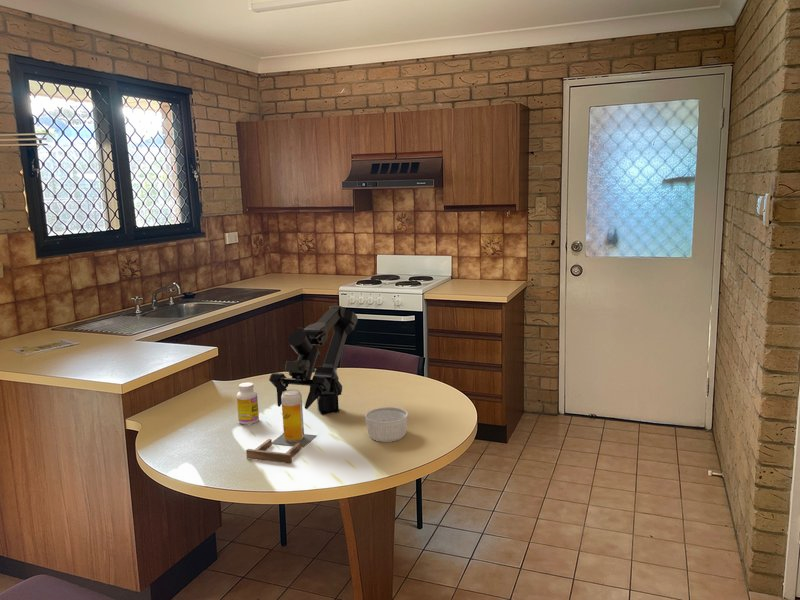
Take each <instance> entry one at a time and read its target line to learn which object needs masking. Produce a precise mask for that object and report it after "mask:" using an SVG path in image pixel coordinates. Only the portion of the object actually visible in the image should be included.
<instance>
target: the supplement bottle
mask: <svg viewBox="0 0 800 600" xmlns="http://www.w3.org/2000/svg"><path fill="white" fill-rule="evenodd" d="M254 387H255V385H254V383H253V382H242V383H240V384H238V390H239V391H238V392H237V393H236V406H237V407H236V408H237V418H238V419H237V421H238V422H239V424H241V425H252V424H253V425H254V424H255V423H257V422H259V420H260V415H259V403H258V402H259V401H258V392H257V391H256V390H254Z"/></svg>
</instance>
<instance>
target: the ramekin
mask: <svg viewBox="0 0 800 600" xmlns="http://www.w3.org/2000/svg"><path fill="white" fill-rule="evenodd" d="M408 419H409V413H408V411H407V410H405V409H403V408H401V407H395V406H384V407H383V406H381V407H377V408H373V409H370V410H368V411H367V412H366V413H365V415H364V421H365V423H366V424H365V425H366V430H367V434H368V436H369V438H371V440H373V441H375V440H376V442H379V441H381V443H392V441H393V442H397V441H399V440H401V439H403V438H404V436H405V435H406V434H407V426H408Z"/></svg>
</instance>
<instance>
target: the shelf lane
mask: <svg viewBox="0 0 800 600" xmlns="http://www.w3.org/2000/svg"><path fill="white" fill-rule="evenodd" d="M272 442H273V440H272V439H271V438H267V440H265V441H264V442H263V443H261V444H260V445H258V446H257V447H256V448H255V449H251V448H247V449H246V450H245V454H246V459H247V458H250V459H249V460H255V459H257V461H265V462H266V461H267V462H272V463H273V462H274V463H282V464H289V465H290V464H292V463H293V457H294V456H296V454H298V453H299V452H300V451H301V450H302V449H303V447H302V443H301V442H298V443H297V444H296V445H294V446H291V448H289V450H288V451H286V452H285V453H284V452H278V451H271V450H270V451H268V449H270V448H271V447H272V446H273V444H272Z"/></svg>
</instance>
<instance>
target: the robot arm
mask: <svg viewBox="0 0 800 600" xmlns="http://www.w3.org/2000/svg"><path fill="white" fill-rule="evenodd" d="M357 323H358V315H357V314H356V313H355V312H354V311H352V310H350V309H346V308H345V307H344V306H342V305H331V306H329V307H328V308H327V311H326V312H325V313H324V314H323V315H322V316H321V317H320V318H319V319H318V320H317V321H316V322H315V323H310V324H309V325H307V326H306V327H305V328H304V327H297V328H296V329H297V330H295V331H293V332H292V333H290V335H289V336H288V338H287V342H288V344H289V345H290V347H291V348H292V350H294V352H295V353H296V354H297V355H298V357H297V359H295V360H294V361H292V360H291V361H289V360H286V361H285V366H284V372H285V373H288V375H289V376H290V377H287V376H286V375H285V374H284V373H282V372H281V373H279V372H273V373H271V374H270V376H269V379H268V381H269V382H270V383H271V384H272V385H273V386H274V387H275V389H276V400H277V403H276V404H277V407H278V408H279V407H282V401H281V396H282V392H284V391H286V390H288V389H287V388H288V387H289V385H295V386H308V387H309V392H308V394H307V398H306V401H305V404H304V409H305V410H308V409H309V407H311V406H312V404H313V403H314V402H315V401H316V402H317V411H318V412H319V414H321V415H327V414H336V413H340V412H341V410H340V408H339V396H341V395H342V392H343V385H342V383H341V382H340V381H339V380H340V379H339V375H338V372H337V370H338V366H339V363H340V360H341V356H342V353H343V349H344V347H345V343H346V341H347V337H348V336H349V335H350V334H351V333H352V332H354V330H355V328H356V325H357ZM332 328H333V334H332V337H331V340H330V343H329V346H328V350H327V351H326V355H325V358H324V361H323V364H322V365H321V366H317V367H315V365H316V361H317V359H318V357H321V352H320V351H319V347H317V346H324V345H325V343H326V342H327V341H328V339H329V336H328V335H329V334H328V333H329V331H330V330H331V329H332ZM313 373H314V374H313ZM311 378H312V379H311Z"/></svg>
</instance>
